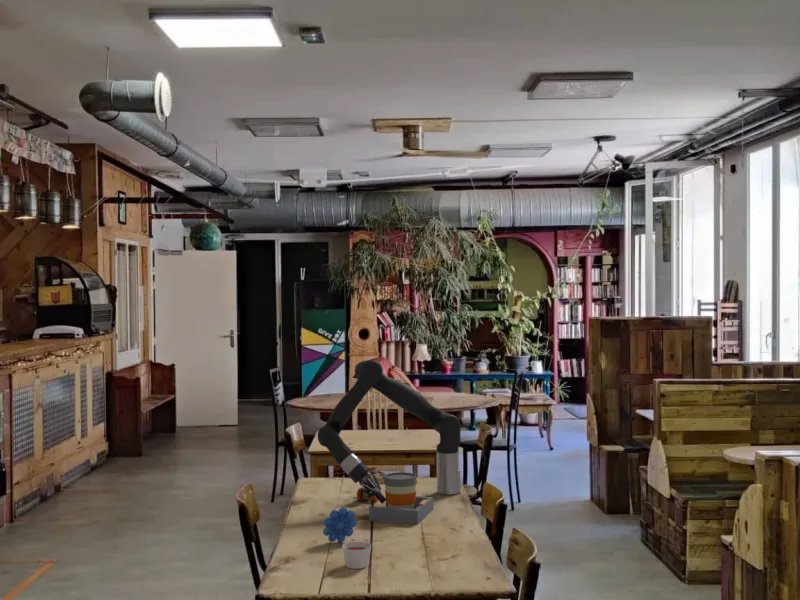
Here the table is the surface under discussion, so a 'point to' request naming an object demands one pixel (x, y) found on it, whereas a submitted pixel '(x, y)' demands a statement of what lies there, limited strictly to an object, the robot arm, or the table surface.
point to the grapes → (339, 524)
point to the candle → (356, 554)
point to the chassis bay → (403, 512)
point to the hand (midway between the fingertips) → (384, 501)
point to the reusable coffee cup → (400, 490)
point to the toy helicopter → (380, 478)
